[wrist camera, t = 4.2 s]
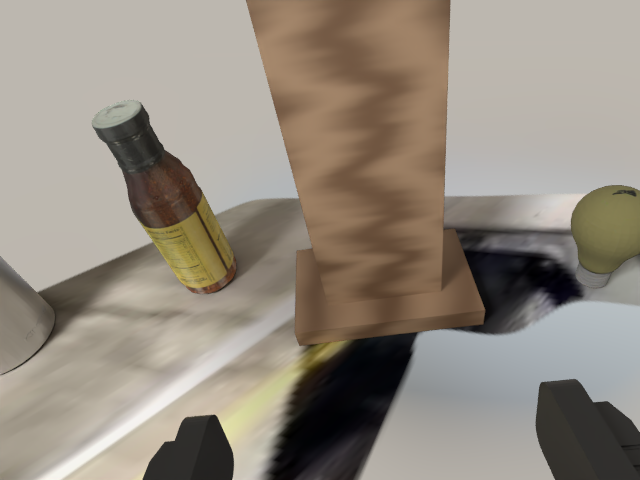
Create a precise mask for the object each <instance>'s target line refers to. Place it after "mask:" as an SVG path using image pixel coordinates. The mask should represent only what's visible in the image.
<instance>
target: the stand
mask: <svg viewBox="0 0 640 480" xmlns="http://www.w3.org/2000/svg"><path fill="white" fill-rule="evenodd" d="M246 2H247V6H248V9H249V13H250V17H251V21H252V24H253V28H254V32H255V36H256V39H257V43H258V47H259V50H260V54H261V58H262V61H263V65H264V69H265V73H266V76H267V80H268V84H269V87H270V91H271V95H272V99H273V102H274V106H275V110H276V114H277V117H278V121H279V125H280V129H281V132H282V136H283V140H284V143H285V147H286V151H287V155H288V158H289V162H290V166H291V169H292V173H293V177H294V181H295V184H296V188H297V192H298V196H299V199H300V203H301V207H302V210H303V214H304V218H305V222H306V225H307V229H308V233H309V236H310V240H311V244H312V248H313V249H306V250H299V251H297V260H296V302H295V335H296V338H297V340H298V343H299V346H302V345H310V344H319V343H327V342H336V341H344V340H353V339H361V338H370V337H378V336H386V335H395V334H403V333H412V332H420V331H429V330H437V329H446V328H454V327H463V326H471V325H480V324H483V321H484V315H485V308H484V306H483V303H482V300H481V298H480V295H479V292H478V289H477V287H476V284H475V281H474V279H473V276H472V273H471V271H470V268H469V265H468V263H467V260H466V257H465V255H464V252H463V249H462V246H461V244H460V241H459V238H458V236H457V233H456V230H455V228H454V229H446V230H443V220H444V187H445V156H446V155H445V154H446V124H447V91H448V59H449V29H450V28H449V27H450V0H246Z"/></svg>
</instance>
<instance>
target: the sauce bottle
mask: <svg viewBox="0 0 640 480" xmlns="http://www.w3.org/2000/svg"><path fill="white" fill-rule="evenodd" d="M92 126H93V128H94V129H95V131H96V133H97V135H98V137H99V138H100V139H101V140H102V141H104V142H105V143H106V144H107V145H108V147H109V149H110V150H111V152H112V153H113V155H114V157H115V158H116V160H117V161H118V165H119V167H120V168H121V169H122V172H123V175H124V178H125V181H126V184H127V189H128V197H129V201H130V205H131V208H132V211H133V213H134V215H135V216H136V218H137V219H138V221H139V222H140V223H141V225H142V226H143V228H144V229H145V231H146V232H147V233H148V235H149V236H150V238H151V239H152V241H153V242H154V244H155V245H156V247H157V248H158V250H159V251H160V252H161V254H162V255H163V257H164V258H165V260H166V261H167V263H168V264H169V266H170V267H171V269H172V270H173V272H174V273H175V275H176V276H177V278H178V279H179V280H180V282H181V283H182V284H184V285H185V286H186V287H187V288H188V289H189V290H190V291H191V292H194V293H198V294H205V293H206V294H209V293H212V292H217V291H218V290H219V289H221V288H222V287H224V286H225V285H226V284H227V283H229V282H230V281H231V279H232V278H233V277H234V275H235V272H236V259H235V257H234V255H233V252H232V249H231V247H230V245H229V243H228V241H227V239H226V237H225V235H224V233H223V231H222V229H221V228H220V226H219V224H218V222H217V220H216V218H215V216H214V214H213V212H212V210H211V208H210V206H209V204H208V202H207V200H206V198H205V196H204V194H203V192H202V190H201V189H200V187H199V186H198V185H197V183H196V181H195V179H194V177H193V175H192V173H191V172H190V170H189V169H188V168H187V167H185V166H184V165H183V164H182V163H181V161H180V160H179V159H178V158H176V157H174V156H173V155H171V154H170V153H169V152H167V151H165V150H164V147H163V145H162V144H161V143H160V142H159V140H158V138H157V136H156V134H155V133H154V131H153V129H152V127H151V125H150V122H149V115H148V113H147V112H146V111H145V109H144V107H143V105H142V104H141V103H140V102H138V101H134V100H128V101H122V102H119V103H116V104H114V105H111V106H109V107H106V108H104V109H103V110H101V111H100V112H98V113H97V114H96V115H95V117H94V118H93V120H92Z"/></svg>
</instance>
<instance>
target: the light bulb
mask: <svg viewBox="0 0 640 480" xmlns="http://www.w3.org/2000/svg"><path fill="white" fill-rule="evenodd" d="M571 231H572V234H573V238H574V240H575V242H576V244H577V247H578V259H579V265H578V267H577V270H576V278H577V280H578V281H579V282H580V283H581V284H583V285H585V286H588V287H592V288H599V287H603V286H604V285H606V283H607V281H608V279H609V277H610V275H611V273H612V272H613V271H614V270H616V269H617V268H618V267H619V266H620V265H621V264H622V263H623V262H624V261H626V260H628V259H630V258H632V257H634V256H636V255H637V254H639V253H640V191H639V190H637V189H635V188H632V187H628V186H622V185H612V186H605V187H602V188H599V189H596V190H594V191H592V192H590V193H589V194H587V195H586V196H584V197H583V198H582V199H581V200H580V201H579V202H578V204H577V205H576V207H575V209H574V211H573V213H572V218H571Z"/></svg>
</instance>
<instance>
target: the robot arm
mask: <svg viewBox="0 0 640 480" xmlns="http://www.w3.org/2000/svg"><path fill="white" fill-rule="evenodd" d="M54 322H55V313H54V310H53V309H52V307H51V306H50V305H49V304H48V303H47V302H46V301H45V300H44V299H43V298H42V297H41V296H40V295H39V294H38V293H37V292H36V291H35V290H34V289H33V288H32V287H31V286H30V285H29V284H28V283H27V282H26V281H25V280H24V279H23V278H22V277H21V276H20V275H19V274H17V272H16V271H15V270H14V269H13V268H12V267H11V266H10V265H9V264H7V262H6V261H5V260H4V259H3V258H2V257H1V256H0V375H1V374H3V373H5V372H7V371H10V370H12V369H13V368H15V367H17V366H18V365H20V364H22V363H23V362H24V361H26V360H27V359H28V358H30V357H31V356H32V355H33V354H34V353H35V352H36V351H37V350H38V349H39V348H40V347H41V346H42V345H43V343H44V342H45V341H46V340H47V338H48V336H49V335H50V333H51V331H52V329H53V326H54ZM538 396H539V397H538V405H537V414H536V432H537V437H538V441H539V444H540V446H541V449H542V452H543V454H544V456H545V458H546V460H547V463H548V465H549V467H550V469H551V472H552V474H553V476H554V478H555V480H640V432H639V431H638V429H637V428H636V426H635V425H634V424H633V422H632V421H631V420H630V419H629V418H628V417H626V416H625V415H624V414H623V413H622V412H620V411H619V410H618V409H616V408H615V407H614V406H613V405H612V404H610V403H609V402H607V401H605V402H594V403H593V402H592V400H591V399H590V397H589V395H588V394H587V392H586V391H585V389H584V388H583V386H582V385H581V383H580V382H579V381H577V380H576V379H570V380H560V381H551V382H542V383H541V384H540V387H539V395H538ZM233 471H234V458H233V452H232V449H231V447H230V444H229V442H228V440H227V438H226V435H225V433H224V431H223V429H222V427H221V424H220V422H219V420H218V418H217V416H216V415H205V416H194V417H186V418H185V419H184V420H183V421H182V423H181V425H180V428H179V430H178V433H177V436H176V439H175V441H170V442H164V444H163V445H162V446H161V448H160V449H159V450H158V452H157V453H156V454H155V455H154V457H153V458H152V459H151V461H150V462H149V465H148V467H147V470H146V472H145V475H144V477H143V480H232V478H233Z"/></svg>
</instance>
